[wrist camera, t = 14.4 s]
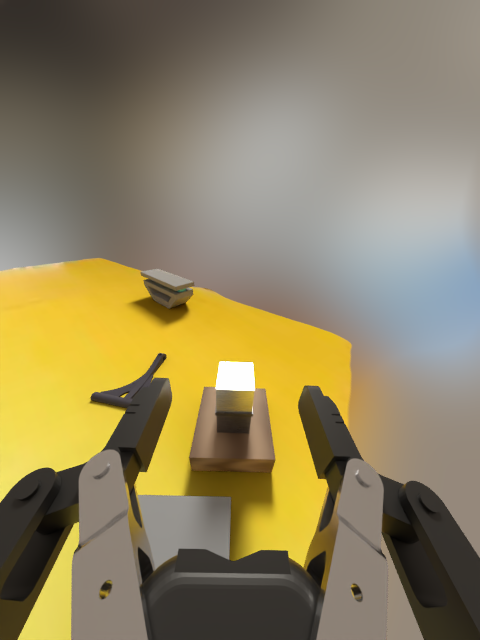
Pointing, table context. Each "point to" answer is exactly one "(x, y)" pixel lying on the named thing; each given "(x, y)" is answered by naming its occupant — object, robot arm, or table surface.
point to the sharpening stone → (167, 287)
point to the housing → (234, 397)
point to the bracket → (129, 387)
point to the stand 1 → (186, 524)
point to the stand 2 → (232, 439)
